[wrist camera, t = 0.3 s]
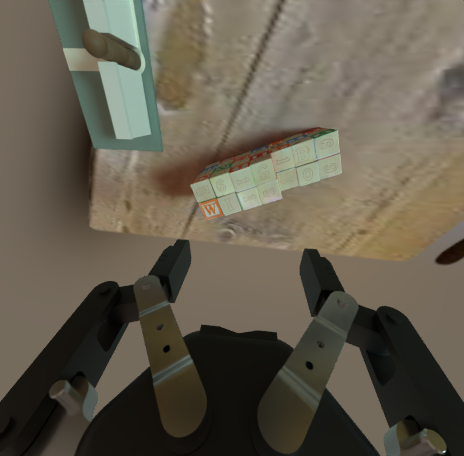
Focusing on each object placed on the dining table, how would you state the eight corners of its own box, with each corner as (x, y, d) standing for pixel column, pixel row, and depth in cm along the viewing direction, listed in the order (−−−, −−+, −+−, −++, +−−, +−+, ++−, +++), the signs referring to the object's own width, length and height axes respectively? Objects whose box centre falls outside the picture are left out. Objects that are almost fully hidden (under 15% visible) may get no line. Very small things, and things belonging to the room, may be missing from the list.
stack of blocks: (319, 125, 33) (348, 131, 23) (323, 161, 36) (351, 181, 26) (206, 165, 39) (188, 185, 28) (218, 193, 42) (205, 221, 31)
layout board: (27, -75, 25) (23, -79, 25) (130, -79, 24) (128, -83, 24) (95, 147, 39) (93, 148, 39) (163, 151, 38) (162, 151, 38)
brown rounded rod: (125, 50, 31) (72, 25, 22) (141, 50, 31) (94, 25, 22) (129, 71, 32) (81, 55, 23) (144, 71, 32) (101, 56, 23)
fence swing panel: (128, 71, 32) (97, 61, 25) (141, 71, 31) (114, 61, 25) (140, 134, 36) (116, 138, 30) (152, 134, 36) (130, 139, 30)
